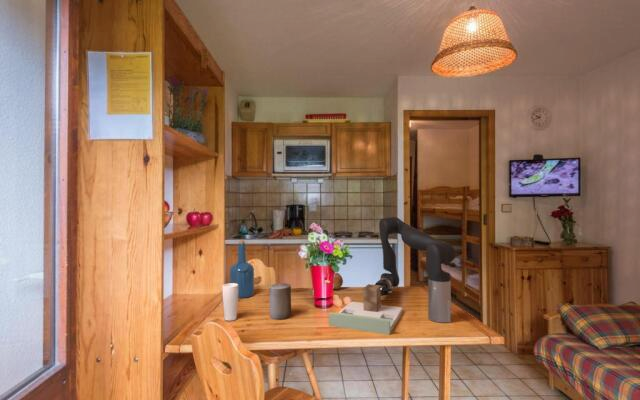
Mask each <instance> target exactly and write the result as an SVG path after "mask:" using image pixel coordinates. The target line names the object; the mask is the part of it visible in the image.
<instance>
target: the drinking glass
mask: <svg viewBox="0 0 640 400" xmlns="http://www.w3.org/2000/svg"><path fill="white" fill-rule="evenodd" d="M238 302H239V298H238V284H236V283H229V282H228V283H225V284H222V305H223V320H225V322H232V321H235V320H237V318H238V315H237V314H238Z"/></svg>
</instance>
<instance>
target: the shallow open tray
mask: <svg viewBox="0 0 640 400" xmlns="http://www.w3.org/2000/svg"><path fill="white" fill-rule="evenodd" d="M403 311H404V310H403V306H402V307H401V306H395V305H394V306H393V305H384V304H381V307H380V309H379V310H378V311H377V312H372V311H364V302H359V301H350V302H348V304H346V306H344V307H343V308H342V309H341V310H340V311H338V312H329V313H328V326H329V327H330V326H331V327H336V328H342V329H350V330H354V331H355V330H356V331H361V330H362V331H363V332H368V333H369V332H370V333H375V334H383V335H389V336H390V335H391V333H392V331H393V329H394V327H395V326H396V324H397V322H398V320H399V319H400V317H401V315H402V313H403Z"/></svg>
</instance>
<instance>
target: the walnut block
mask: <svg viewBox="0 0 640 400" xmlns="http://www.w3.org/2000/svg"><path fill="white" fill-rule="evenodd" d="M381 301H382V296H381V285H375V284H367V285H365V286H364V287H363V303H364V311H372V312H377V311H378V310H379V309H380V307H381V305H382V302H381Z"/></svg>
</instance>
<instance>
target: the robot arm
mask: <svg viewBox="0 0 640 400" xmlns="http://www.w3.org/2000/svg"><path fill="white" fill-rule="evenodd" d="M378 230H379V236H380V241H381V242H380V243H381V248H382V258H383V259H382V260H383V261H382V265H383V266H382V267H383V270H385V271H386V272H387V273H386V272H384V273H382V274H380V278H379V280H377V281H376V282H375V284H374V285H381V297H384V296H389V295H392V294H393V292H392V291H393V290H392V288H393V287H395V288H397V287H398V286H399V285H400V276H399V274H398V270H397V256H396V252H395V250H394V248H393V247H392V246H391V244H390V242H389V235H393V234H398V235H400V236H401V241H402V242H403V243H404V244H405V245H407V246H408V247H410V248H411V249H415V250H417V251H421V252H422V251H423V252H425V264H426V267H425V268H426V274H427V282H428V283H427V285H428V286H427V288H428V290H427V295H428V296H427V298H428V299H427V300H428V302H427V305H428V307H427V308H428V309H427V310H428V311H427V314H428V320H430V321H432V322H436V323H451V320H452V296H451V295H452V294H451V291H452V288H451V287H452V286H451V285H452V284H451V283H452V282H451V281H452V279H451V273H449V272H447V271H445V270H443V269H442V265H443V264H444V265H445V264H449V263H451V262H453V261H455V259H456V256H457V255H456V254H457V253H456V250H455V248H454V247H453V245H452V244H450V243H449V242H446V241H444V240H440V239H438V238H436V237H433V236H432V235H429V234H428V233H426V232H423V231H422V230H420V229H417V228H416V227H413V226H411V225H410V224H408V223H406V222H404V221H403V220H401V219H400V218H399V217H397V216H391V217H389V216H388V217H384V218H381V219H380V220H379V222H378Z"/></svg>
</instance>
